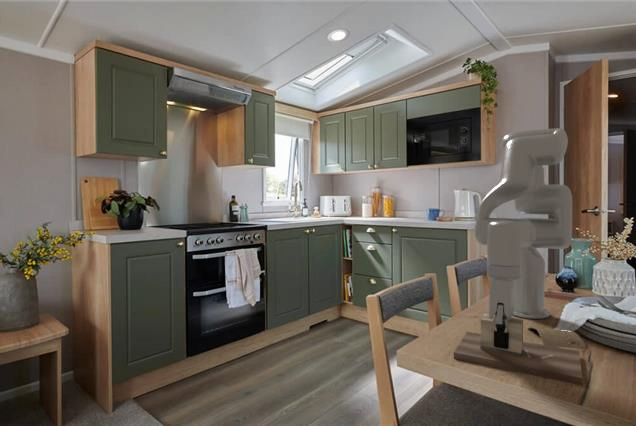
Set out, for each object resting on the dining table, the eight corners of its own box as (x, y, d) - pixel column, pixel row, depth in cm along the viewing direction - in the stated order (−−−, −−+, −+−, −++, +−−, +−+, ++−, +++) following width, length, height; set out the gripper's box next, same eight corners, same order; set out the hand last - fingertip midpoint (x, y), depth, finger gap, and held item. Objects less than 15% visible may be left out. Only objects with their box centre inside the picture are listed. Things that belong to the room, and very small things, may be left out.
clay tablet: (526, 330, 114) (526, 321, 114) (563, 332, 113) (563, 323, 112) (546, 350, 100) (546, 340, 100) (589, 352, 98) (589, 342, 98)
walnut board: (466, 337, 108) (466, 331, 108) (578, 356, 94) (578, 350, 94) (453, 358, 95) (453, 352, 95) (582, 385, 81) (582, 378, 81)
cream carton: (483, 342, 101) (484, 313, 100) (522, 349, 96) (523, 319, 95) (480, 348, 96) (480, 319, 96) (521, 356, 92) (521, 325, 91)
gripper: (492, 264, 104) (491, 330, 105) (481, 276, 90) (480, 352, 91) (523, 266, 100) (522, 336, 101) (517, 279, 86) (516, 359, 87)
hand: (502, 343), depth 96 cm, fingers closed on cream carton, 5 cm apart
